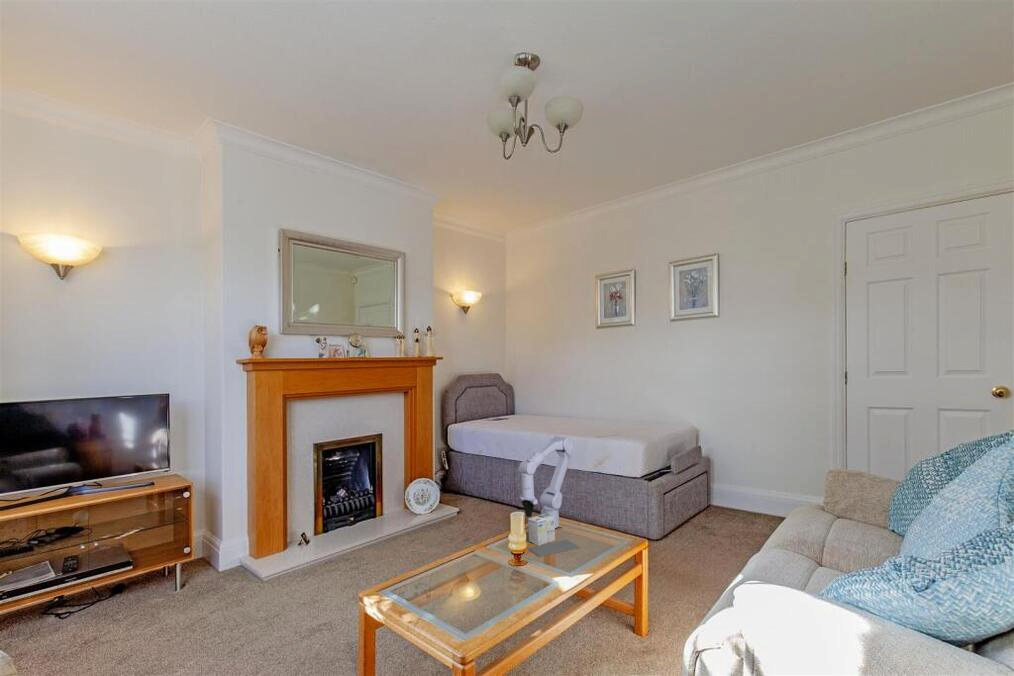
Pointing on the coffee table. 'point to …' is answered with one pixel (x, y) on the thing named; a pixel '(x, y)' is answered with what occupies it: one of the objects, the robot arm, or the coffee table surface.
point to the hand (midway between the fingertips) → (528, 516)
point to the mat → (553, 548)
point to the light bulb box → (541, 529)
